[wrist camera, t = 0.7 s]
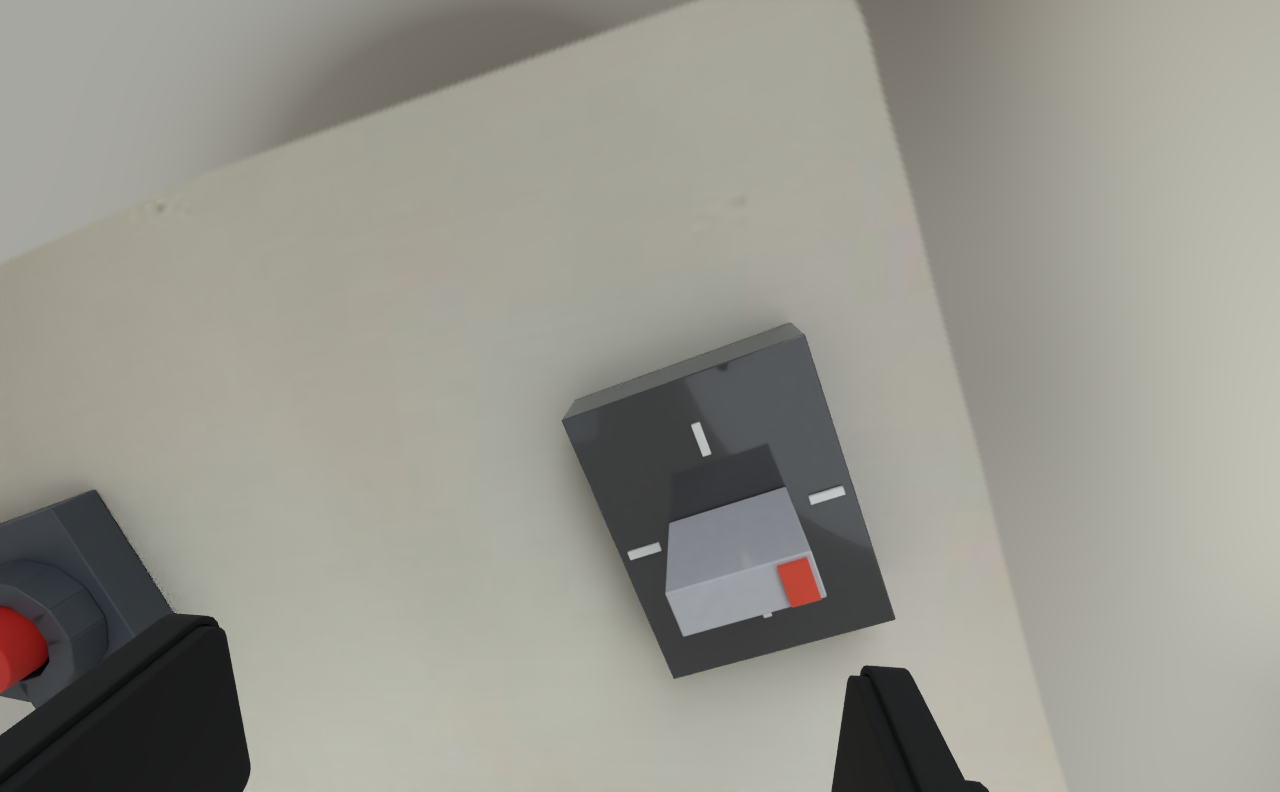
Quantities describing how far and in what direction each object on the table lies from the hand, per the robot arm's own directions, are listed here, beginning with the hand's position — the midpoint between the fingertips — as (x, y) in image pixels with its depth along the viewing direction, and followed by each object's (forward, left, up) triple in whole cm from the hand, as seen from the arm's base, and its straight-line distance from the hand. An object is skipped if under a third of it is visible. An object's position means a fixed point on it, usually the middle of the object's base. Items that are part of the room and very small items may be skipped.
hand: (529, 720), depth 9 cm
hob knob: (+6, 0, -15) cm, 16 cm away
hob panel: (+6, 0, -18) cm, 19 cm away
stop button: (-13, -28, -15) cm, 34 cm away
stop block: (-13, -28, -18) cm, 36 cm away
